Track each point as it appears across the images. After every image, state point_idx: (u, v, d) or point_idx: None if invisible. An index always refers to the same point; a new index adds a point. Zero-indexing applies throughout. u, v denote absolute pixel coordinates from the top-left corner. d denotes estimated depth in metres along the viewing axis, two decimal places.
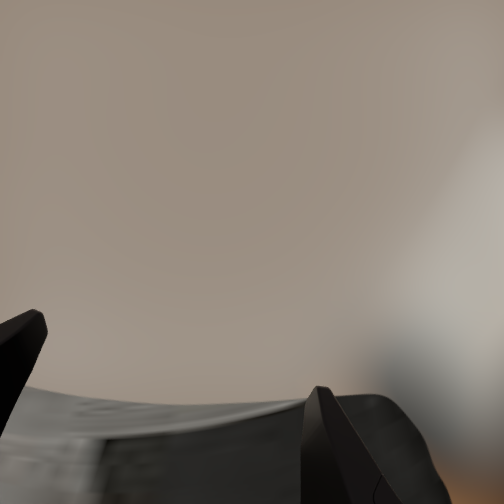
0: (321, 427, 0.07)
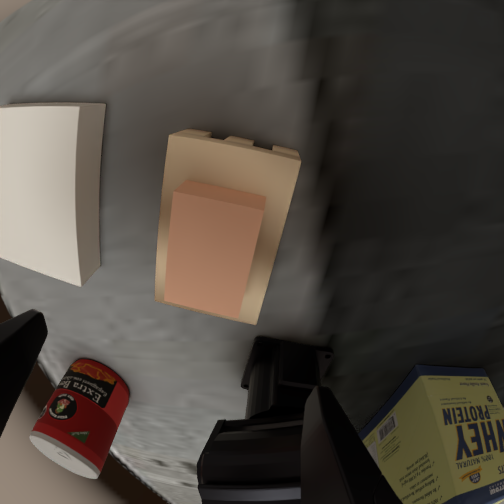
0: (321, 427, 0.07)
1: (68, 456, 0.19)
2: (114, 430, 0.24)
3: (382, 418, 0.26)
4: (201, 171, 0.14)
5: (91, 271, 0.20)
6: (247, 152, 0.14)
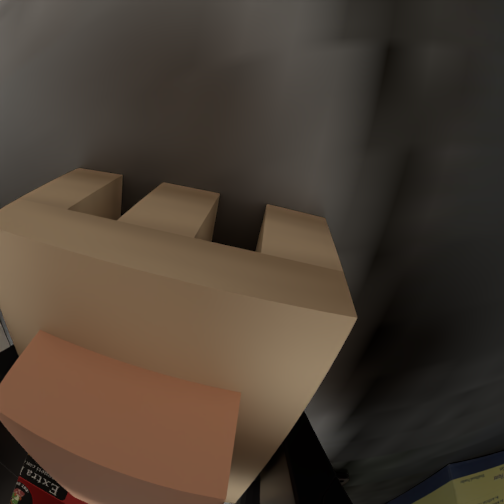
0: None
1: None
2: None
3: None
4: (62, 321, 0.05)
5: None
6: (169, 287, 0.04)
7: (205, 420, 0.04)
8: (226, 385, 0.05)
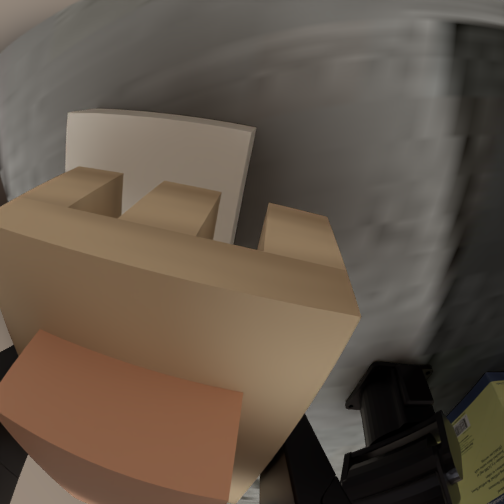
0: None
1: None
2: None
3: (453, 421, 0.25)
4: (62, 320, 0.04)
5: None
6: (171, 286, 0.04)
7: (207, 420, 0.04)
8: (228, 385, 0.05)
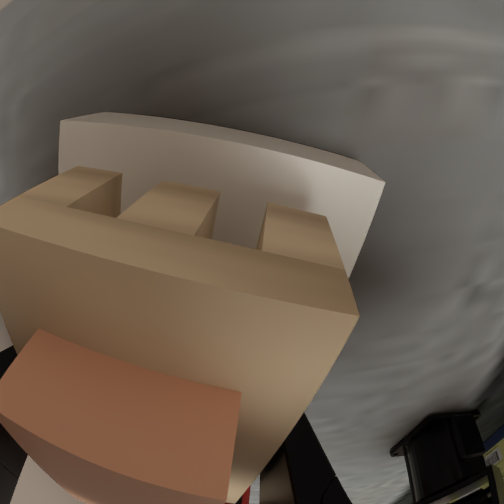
0: None
1: None
2: None
3: None
4: (60, 320, 0.04)
5: None
6: (169, 285, 0.04)
7: (205, 420, 0.04)
8: (227, 384, 0.05)
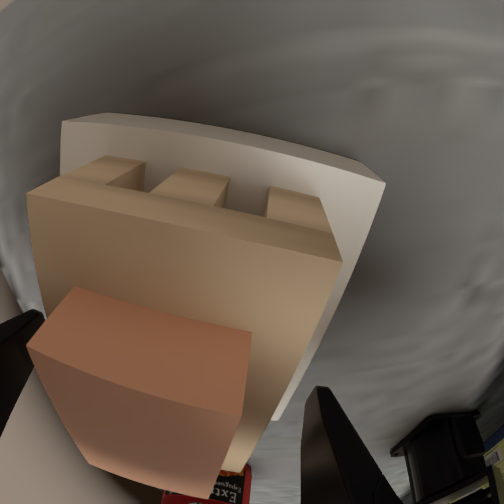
0: (321, 427, 0.07)
1: None
2: None
3: None
4: (98, 277, 0.06)
5: None
6: (197, 238, 0.05)
7: (222, 352, 0.05)
8: (238, 328, 0.06)
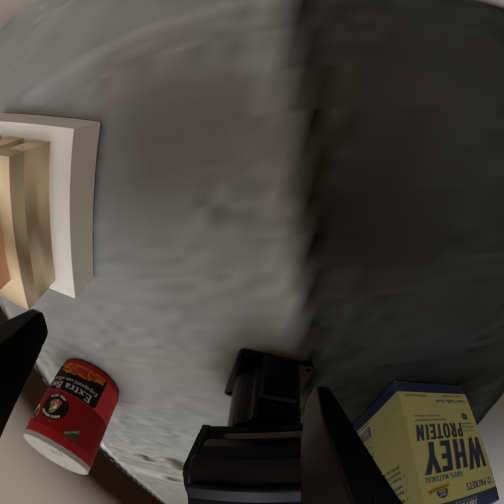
0: (321, 427, 0.07)
1: (60, 453, 0.20)
2: (104, 429, 0.25)
3: (360, 427, 0.28)
4: None
5: (84, 282, 0.21)
6: None
7: None
8: None
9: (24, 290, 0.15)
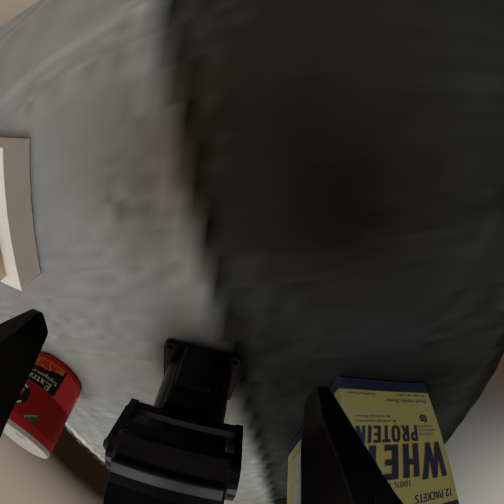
0: (321, 427, 0.07)
1: (22, 436, 0.20)
2: (63, 416, 0.26)
3: None
4: None
5: (30, 277, 0.21)
6: None
7: None
8: None
9: None
